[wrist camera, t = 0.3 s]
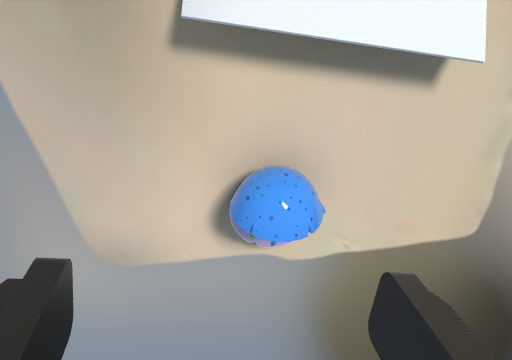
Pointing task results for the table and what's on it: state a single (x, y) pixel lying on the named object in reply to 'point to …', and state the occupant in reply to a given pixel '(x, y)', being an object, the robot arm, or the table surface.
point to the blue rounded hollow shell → (275, 207)
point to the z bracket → (362, 22)
